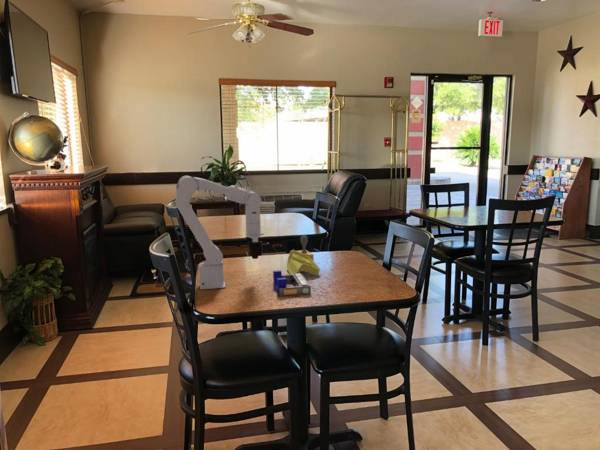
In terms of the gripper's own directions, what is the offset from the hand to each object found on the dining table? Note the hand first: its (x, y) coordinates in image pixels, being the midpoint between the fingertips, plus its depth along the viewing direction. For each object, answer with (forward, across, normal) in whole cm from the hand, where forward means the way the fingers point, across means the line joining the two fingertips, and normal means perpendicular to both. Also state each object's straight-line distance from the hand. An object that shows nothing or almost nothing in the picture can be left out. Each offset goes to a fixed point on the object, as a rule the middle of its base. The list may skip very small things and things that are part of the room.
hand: (254, 256), depth 192 cm
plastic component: (+11, +11, -22) cm, 27 cm away
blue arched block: (+11, -12, -9) cm, 19 cm away
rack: (+10, -12, -12) cm, 20 cm away
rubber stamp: (+11, +29, -26) cm, 40 cm away
